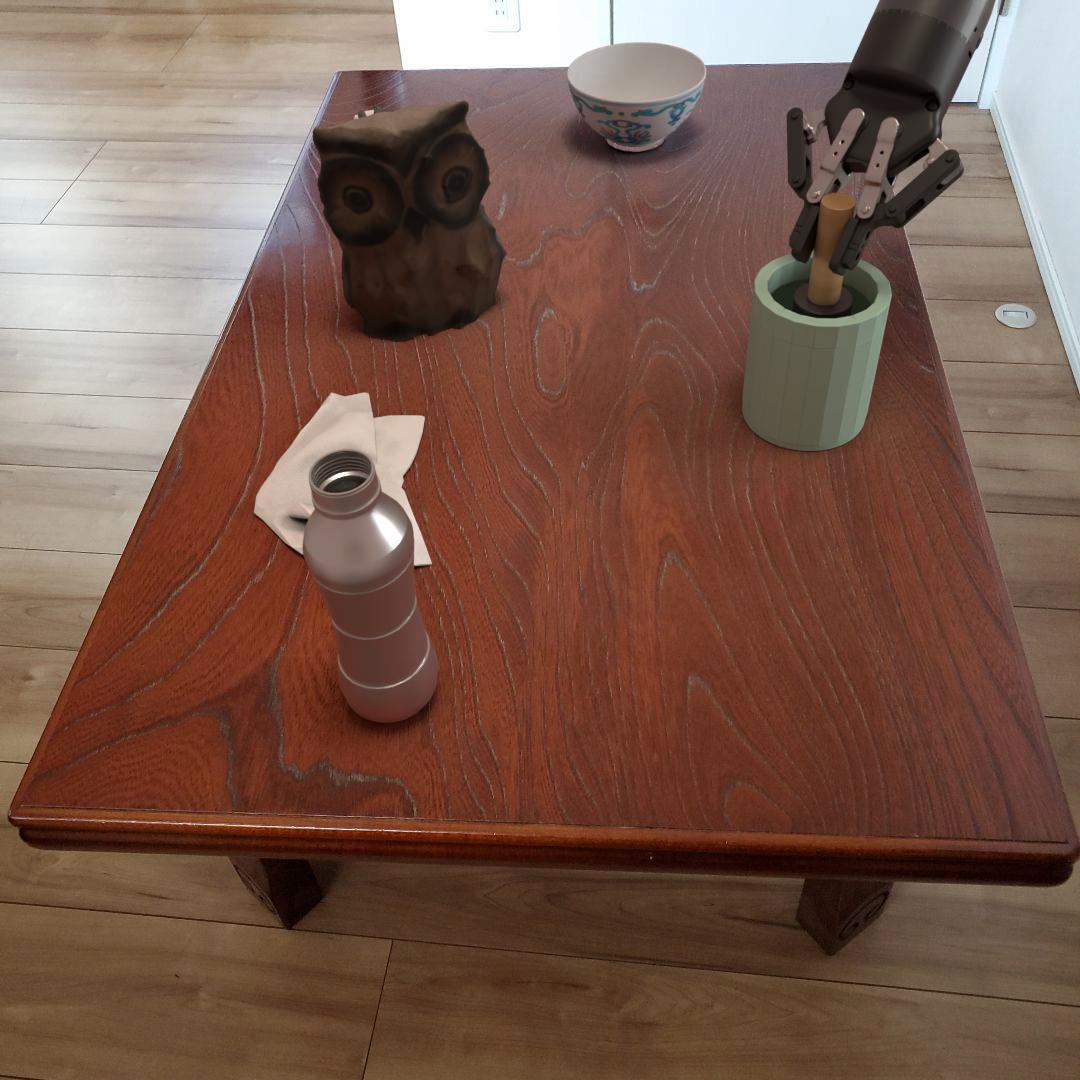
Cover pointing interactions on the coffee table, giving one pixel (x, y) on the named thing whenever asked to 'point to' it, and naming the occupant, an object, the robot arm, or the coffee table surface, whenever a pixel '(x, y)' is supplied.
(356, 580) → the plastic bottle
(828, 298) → the peg in round base
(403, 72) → the coffee table surface
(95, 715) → the coffee table surface
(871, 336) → the cup
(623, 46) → the chinaware
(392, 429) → the cloth
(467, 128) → the owl
